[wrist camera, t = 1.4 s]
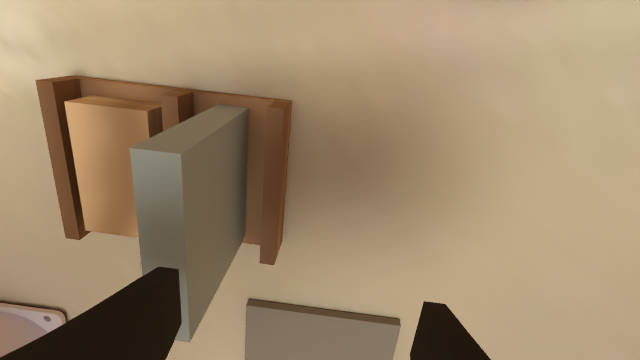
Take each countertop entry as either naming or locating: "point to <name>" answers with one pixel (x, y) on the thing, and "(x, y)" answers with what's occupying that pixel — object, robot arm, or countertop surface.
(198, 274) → the grey square slab
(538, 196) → the countertop surface
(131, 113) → the upper offcut
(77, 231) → the walnut rack
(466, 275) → the countertop surface
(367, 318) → the rubber mat
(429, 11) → the countertop surface
